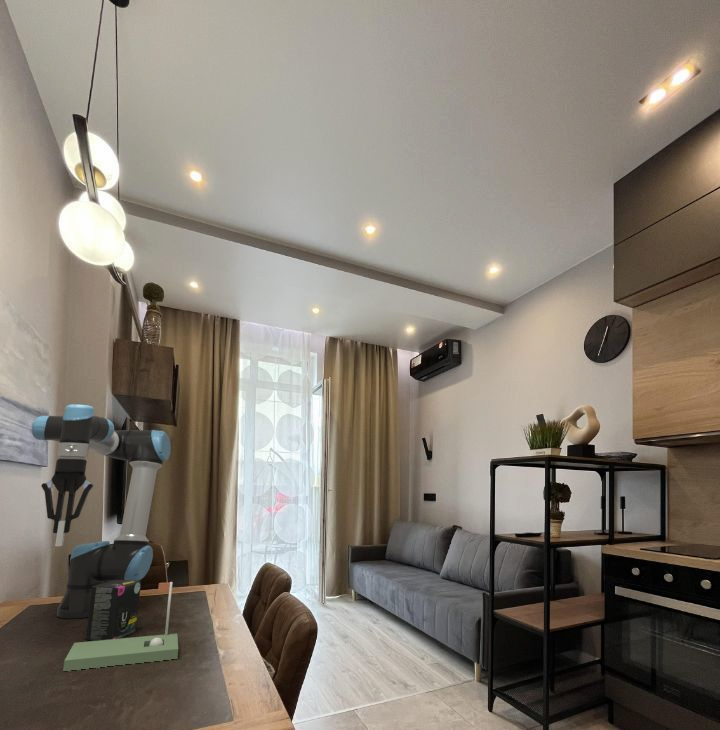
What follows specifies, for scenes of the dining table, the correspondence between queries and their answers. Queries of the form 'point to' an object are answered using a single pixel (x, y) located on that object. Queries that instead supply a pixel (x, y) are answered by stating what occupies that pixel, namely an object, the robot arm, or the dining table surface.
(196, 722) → the dining table surface
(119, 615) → the tampon box
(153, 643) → the ball
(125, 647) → the mini golf green
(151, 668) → the dining table surface
